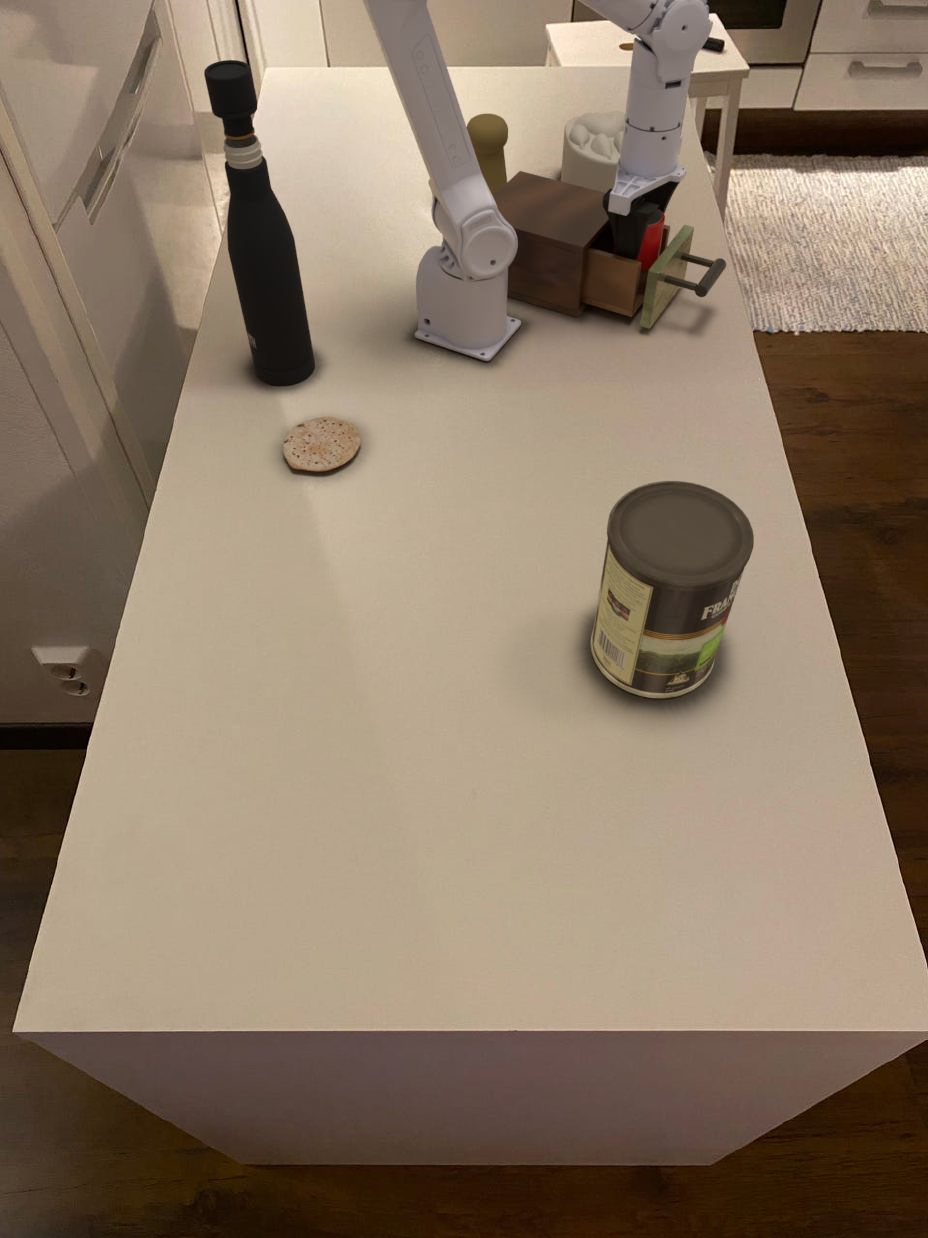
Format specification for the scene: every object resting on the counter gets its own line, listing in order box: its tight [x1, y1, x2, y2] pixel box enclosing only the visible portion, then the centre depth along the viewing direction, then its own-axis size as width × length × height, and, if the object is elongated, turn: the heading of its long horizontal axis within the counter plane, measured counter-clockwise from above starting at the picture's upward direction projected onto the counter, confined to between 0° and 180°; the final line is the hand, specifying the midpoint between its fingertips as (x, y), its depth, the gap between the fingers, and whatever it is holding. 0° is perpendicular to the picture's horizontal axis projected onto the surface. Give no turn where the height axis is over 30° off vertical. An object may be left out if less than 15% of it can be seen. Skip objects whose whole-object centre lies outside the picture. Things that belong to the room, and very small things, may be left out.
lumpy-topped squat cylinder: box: [560, 110, 625, 193], centre depth 121 cm, size 10×13×9 cm
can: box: [613, 208, 666, 271], centre depth 103 cm, size 5×5×5 cm
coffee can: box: [590, 480, 755, 699], centre depth 73 cm, size 10×10×14 cm
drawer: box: [581, 224, 727, 329], centre depth 106 cm, size 17×10×7 cm, turn 61°
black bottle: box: [203, 59, 316, 387], centre depth 90 cm, size 6×6×30 cm
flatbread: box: [282, 416, 362, 472], centre depth 93 cm, size 8×8×1 cm
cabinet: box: [493, 170, 610, 318], centre depth 109 cm, size 14×12×9 cm
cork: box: [466, 113, 509, 196], centre depth 118 cm, size 6×6×11 cm
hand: (636, 246), depth 104 cm, fingers closed on can, 5 cm apart
